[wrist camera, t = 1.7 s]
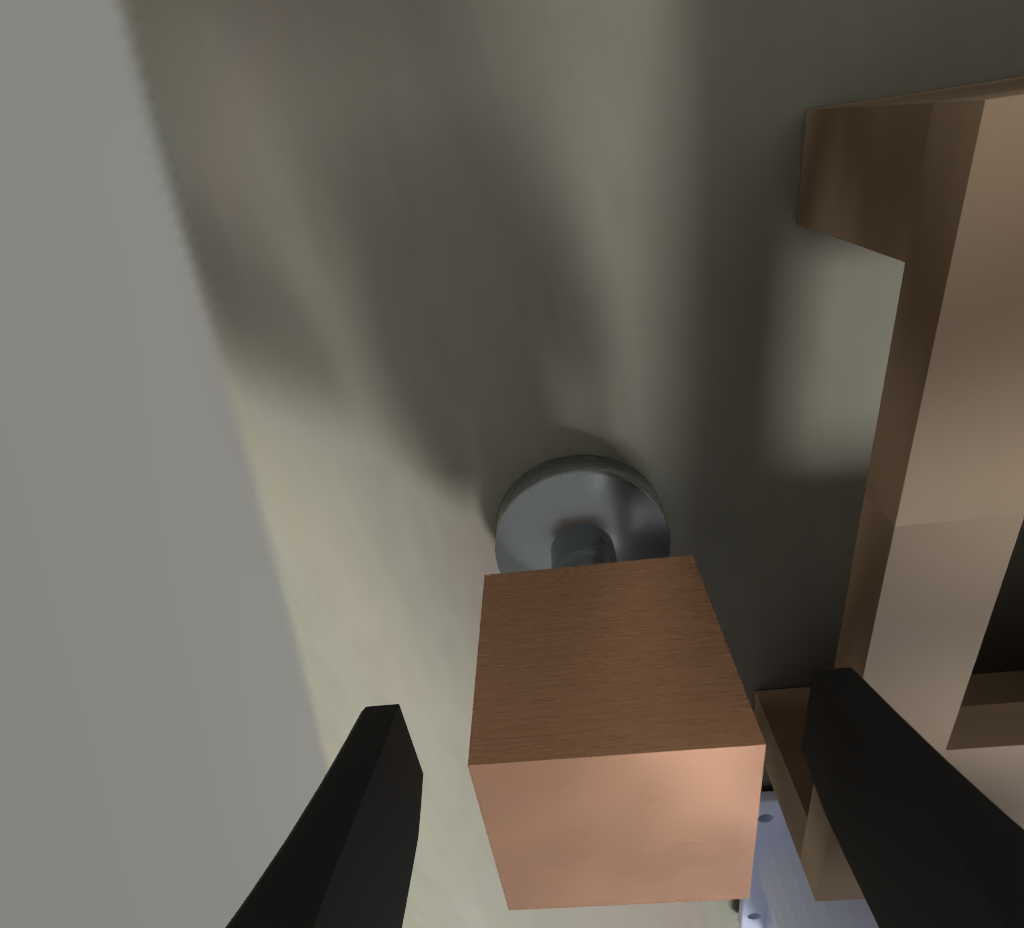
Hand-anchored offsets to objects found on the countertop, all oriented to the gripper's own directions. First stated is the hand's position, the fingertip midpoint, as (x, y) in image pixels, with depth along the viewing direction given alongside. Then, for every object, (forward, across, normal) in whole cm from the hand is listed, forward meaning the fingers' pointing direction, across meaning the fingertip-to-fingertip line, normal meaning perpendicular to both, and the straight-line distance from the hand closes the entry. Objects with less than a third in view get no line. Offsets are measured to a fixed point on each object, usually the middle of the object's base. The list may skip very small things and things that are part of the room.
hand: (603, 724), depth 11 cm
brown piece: (+6, 0, 0) cm, 6 cm away
